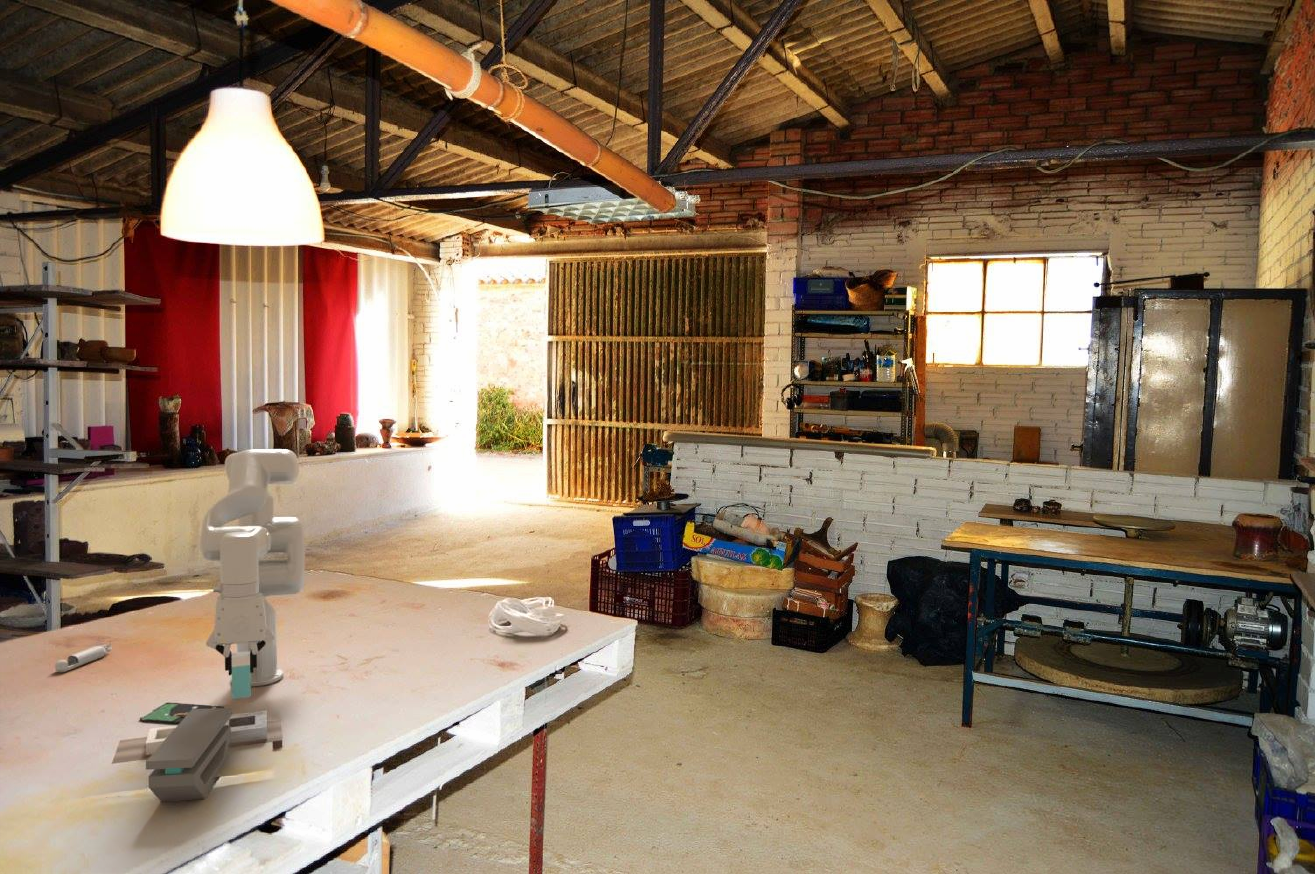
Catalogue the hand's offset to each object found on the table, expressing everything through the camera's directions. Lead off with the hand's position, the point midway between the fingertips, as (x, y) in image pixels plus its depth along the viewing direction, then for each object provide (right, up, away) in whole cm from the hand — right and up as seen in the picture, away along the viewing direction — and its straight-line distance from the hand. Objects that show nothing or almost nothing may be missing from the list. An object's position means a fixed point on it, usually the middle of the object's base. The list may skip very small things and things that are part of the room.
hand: (241, 671), depth 197 cm
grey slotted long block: (0, -18, -19) cm, 26 cm away
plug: (0, -5, 0) cm, 5 cm away
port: (0, -14, +1) cm, 14 cm away
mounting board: (-8, -16, -2) cm, 18 cm away
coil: (+49, -10, +92) cm, 105 cm away
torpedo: (-66, -11, +50) cm, 83 cm away
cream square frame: (-13, -14, -4) cm, 20 cm away
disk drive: (-19, -15, +12) cm, 27 cm away
